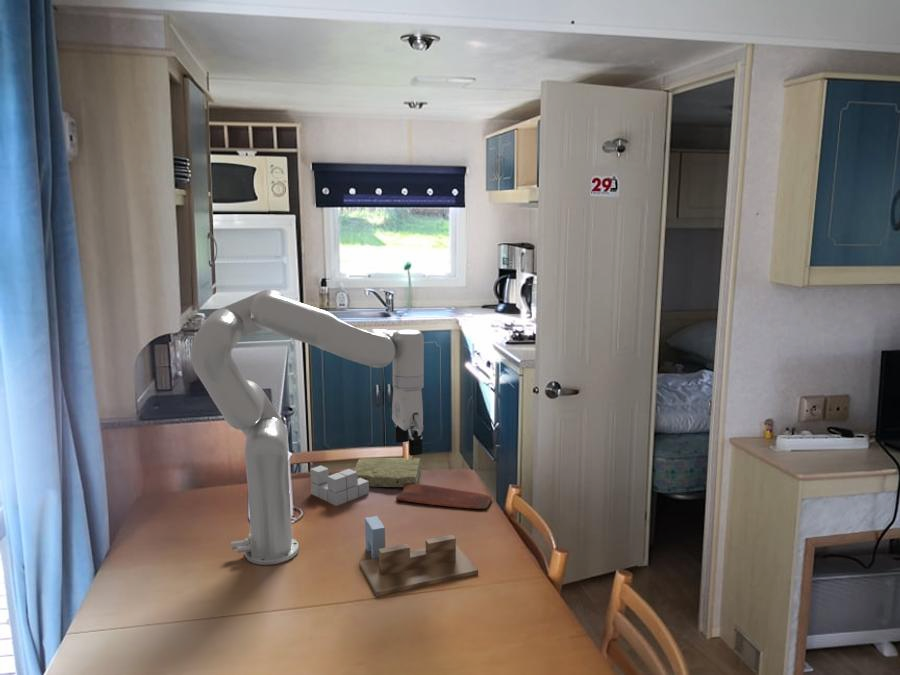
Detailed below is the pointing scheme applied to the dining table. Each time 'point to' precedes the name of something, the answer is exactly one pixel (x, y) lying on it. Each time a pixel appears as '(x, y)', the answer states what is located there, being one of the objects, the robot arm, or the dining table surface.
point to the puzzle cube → (337, 485)
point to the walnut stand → (417, 566)
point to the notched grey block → (374, 535)
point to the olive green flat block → (389, 471)
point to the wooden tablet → (443, 496)
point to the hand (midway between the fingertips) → (408, 448)
